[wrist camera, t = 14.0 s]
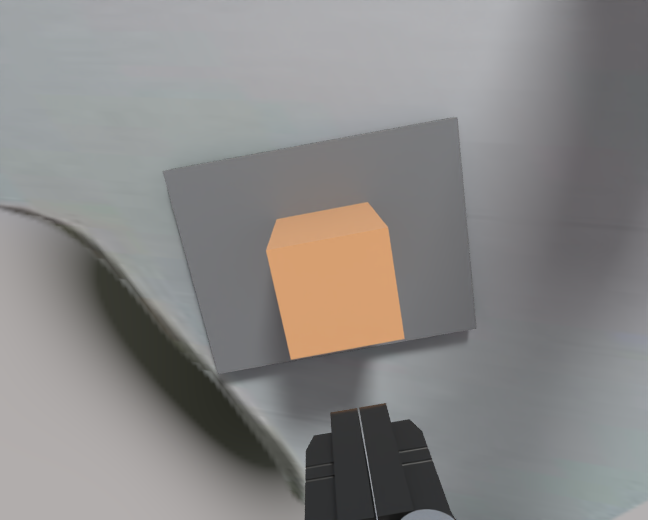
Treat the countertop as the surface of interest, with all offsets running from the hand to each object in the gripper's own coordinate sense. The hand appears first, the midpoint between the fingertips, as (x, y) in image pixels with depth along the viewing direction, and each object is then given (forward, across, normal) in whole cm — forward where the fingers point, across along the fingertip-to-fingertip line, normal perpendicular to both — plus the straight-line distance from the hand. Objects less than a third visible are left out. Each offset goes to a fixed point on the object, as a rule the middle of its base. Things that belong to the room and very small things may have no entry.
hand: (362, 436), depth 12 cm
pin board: (+19, 0, 0) cm, 19 cm away
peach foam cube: (+18, 0, 0) cm, 18 cm away
